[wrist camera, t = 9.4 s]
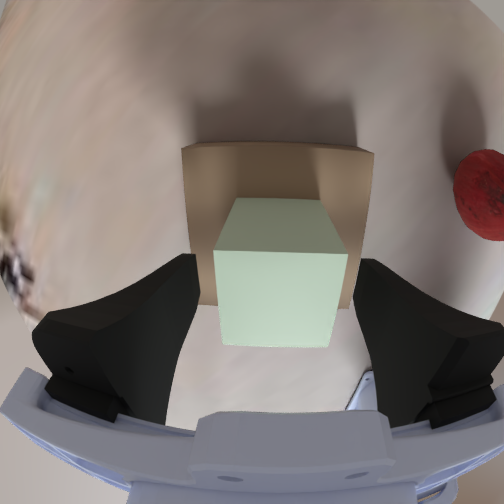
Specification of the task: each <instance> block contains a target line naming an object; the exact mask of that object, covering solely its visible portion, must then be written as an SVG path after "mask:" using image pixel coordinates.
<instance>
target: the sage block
mask: <svg viewBox="0 0 504 504" xmlns="http://www.w3.org/2000/svg"><path fill="white" fill-rule="evenodd" d="M213 253H214V265H215V276H216V287H217V298H218V308H219V317H220V326H221V335H222V344H227V345H242V346H263V347H328V344H329V341H330V337H331V333H332V329H333V325H334V321H335V316H336V312H337V308H338V303H339V299H340V294H341V289H342V285H343V280H344V275H345V269H346V264H347V258H348V253H347V251H346V249H345V247H344V245H343V243H342V241H341V239H340V237H339V235H338V233H337V231H336V229H335V227H334V225H333V223H332V221H331V219H330V217H329V215H328V213H327V212H326V210H325V208H324V206H323V204H322V202H321V201H320V200H308V199H282V198H236V200H235V202H234V204H233V206H232V209H231V211H230V213H229V215H228V218H227V220H226V222H225V224H224V227H223V229H222V231H221V234H220V236H219V238H218V240H217V243H216V245H215V247H214V250H213Z"/></svg>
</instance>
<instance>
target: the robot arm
mask: <svg viewBox="0 0 504 504" xmlns="http://www.w3.org/2000/svg"><path fill="white" fill-rule="evenodd" d="M200 293H201V291H200V284H199V276H198V268H197V260H196V254H184V253H183V254H181V255H179V256H177V257H175V258H174V259H172V260H171V261H169V262H168V263H166V264H165V265H163V266H162V267H160V268H159V269H157V270H156V271H154V272H152V273H151V274H149V275H147V276H146V277H144V278H143V279H141V280H139V281H138V282H136V283H134V284H132V285H130V286H128V287H127V288H124V289H122V290H120V291H118V292H116V293H114V294H111V295H109V296H106V297H104V298H101V299H98V300H96V301H93V302H90V303H86V304H83V305H79V306H76V307H71V308H67V309H61V310H56V311H50V312H48V313H47V314H46V316H45V317H44V318H43V319H42V320H41V321H40V323H39V324H38V325H37V326H36V327H35V329H34V330H33V332H32V340H33V343H34V346H35V348H36V350H37V352H38V353H39V355H40V356H41V358H42V359H43V361H44V362H45V364H46V365H47V367H48V368H49V369H50V371H51V372H52V374H53V375H52V377H51V378H50V380H49V379H48V378H47V377H45V376H44V375H42V374H40V373H38V372H36V371H34V370H32V369H30V368H28V367H26V368H25V369H24V371H23V372H22V374H21V375H20V377H19V378H18V380H17V381H16V383H15V384H14V386H13V388H12V389H11V391H10V392H9V394H8V396H7V397H6V399H5V401H4V402H3V404H2V406H1V408H0V412H1V413H2V414H3V415H4V416H5V417H6V418H7V419H8V420H9V421H10V422H11V423H12V424H13V425H14V426H15V427H16V428H18V429H19V430H20V431H21V432H22V433H23V434H24V435H25V436H27V437H28V438H29V439H30V440H32V441H33V442H34V443H35V444H37V445H38V446H40V447H41V448H43V449H45V450H46V451H48V452H49V453H51V454H53V455H54V456H56V457H58V458H59V459H61V460H63V461H65V462H66V463H68V464H70V465H72V466H73V467H75V468H77V469H79V470H81V471H83V472H85V473H87V474H89V475H91V476H93V477H95V478H97V479H99V480H101V481H104V482H106V483H108V484H110V485H113V486H115V487H118V488H120V489H122V490H125V491H128V492H130V493H129V496H128V500H127V503H126V504H452V502H453V501H454V500H455V499H456V496H457V492H458V490H459V489H458V484H457V477H459V476H461V475H463V474H464V473H466V472H469V471H470V470H472V469H474V468H476V467H478V466H480V465H481V464H483V463H485V462H487V461H488V460H490V459H492V458H493V457H495V456H497V455H498V454H499V453H501V452H502V451H503V450H504V384H502V385H500V386H498V387H497V388H495V389H494V390H492V388H491V386H490V384H492V383H493V378H492V376H491V373H492V372H493V370H494V369H495V368H496V366H497V365H498V363H499V362H500V360H501V359H502V357H503V356H504V327H503V326H502V325H501V323H498V322H494V321H490V320H486V319H482V318H479V317H476V316H473V315H470V314H467V313H464V312H462V311H459V310H457V309H455V308H452V307H450V306H448V305H446V304H444V303H442V302H440V301H438V300H436V299H434V298H432V297H431V296H429V295H427V294H425V293H424V292H422V291H421V290H419V289H418V288H416V287H415V286H413V285H411V284H410V283H409V282H407V281H406V280H404V279H403V278H401V277H400V276H399V275H397V274H396V273H395V272H393V271H392V270H390V269H389V268H388V267H386V266H385V265H383V264H382V263H380V262H379V261H377V260H375V259H363V258H361V261H360V266H359V271H358V276H357V280H356V285H355V289H354V293H353V300H354V306H355V311H356V315H357V318H358V321H359V324H360V327H361V330H362V333H363V336H364V339H365V342H366V345H367V348H368V351H369V355H370V358H371V363H372V368H373V371H368V372H366V373H365V374H364V376H363V378H362V380H361V382H360V384H359V386H358V388H357V390H356V392H355V394H354V396H353V398H352V400H351V402H350V403H349V405H348V407H347V409H346V410H345V411H332V412H311V413H268V412H248V411H228V412H216V413H213V414H211V415H208V416H205V417H203V418H200V419H199V420H198V424H197V427H196V431H192V430H186V429H180V428H175V427H170V426H165V423H166V415H167V408H168V402H169V396H170V391H171V386H172V382H173V377H174V373H175V368H176V364H177V360H178V357H179V354H180V351H181V348H182V345H183V343H184V340H185V338H186V335H187V333H188V330H189V328H190V325H191V323H192V320H193V318H194V315H195V313H196V310H197V306H198V302H199V297H200ZM438 491H441V492H440V493H438V494H437V495H435V496H433V497H431V498H428V499H426V500H424V501H421V502H417V500H419V499H421V498H424V497H426V496H429V495H431V494H434V493H436V492H438Z"/></svg>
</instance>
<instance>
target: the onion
mask: <svg viewBox="0 0 504 504" xmlns="http://www.w3.org/2000/svg"><path fill="white" fill-rule="evenodd" d="M453 192H454V197H455V202H456V206H457V210H458V212H459V214H460V216H461V218H462V220H463V221H464V223H465V224H466V225H467V227H468V228H469V229H471V230H472V231H473V232H475V233H476V234H477V235H479V236H481V237H482V238H484V239H487V240H492V241H504V155H503V154H501V153H499V152H497V151H495V150H490V149H484V150H479V151H474V152H473V153H471V154H469V155H468V156H467V157H466V158H465V159H463V160H462V161H461V162H460V164H459V166H458V169H457V171H456V173H455V175H454V185H453Z"/></svg>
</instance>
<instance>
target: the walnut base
mask: <svg viewBox="0 0 504 504" xmlns="http://www.w3.org/2000/svg"><path fill="white" fill-rule="evenodd" d="M181 150H182V166H183V179H184V191H185V202H186V212H187V222H188V231H189V240H190V248H191V254H196V260H197V268H198V276H199V284H200V291H201V293H200V297H199V302H198V305H214V306H218V298H217V287H216V276H215V265H214V253H213V250H214V247H215V245H216V243H217V240H218V238H219V236H220V234H221V231H222V229H223V227H224V224H225V222H226V220H227V218H228V215H229V213H230V211H231V209H232V206H233V204H234V202H235V200H236V198H282V199H308V200H320V201H321V202H322V204H323V206H324V208H325V210H326V212H327V213H328V215H329V217H330V219H331V221H332V223H333V225H334V227H335V229H336V231H337V233H338V235H339V237H340V239H341V241H342V243H343V245H344V247H345V249H346V251H347V253H348V258H347V264H346V269H345V275H344V280H343V285H342V289H341V294H340V299H339V303H338V308H337V309H349V305H350V301H351V297H352V293H353V288H354V284H355V279H356V275H357V270H358V265H359V260H360V255H361V250H362V245H363V239H364V233H365V227H366V221H367V214H368V207H369V200H370V192H371V183H372V174H373V164H374V153H372V152H369V151H367V150H364V149H362V148H359V147H353V146H343V145H332V144H319V143H303V142H277V141H233V142H207V143H195V144H193V145H190V146H187V147H184V148H181Z"/></svg>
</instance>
